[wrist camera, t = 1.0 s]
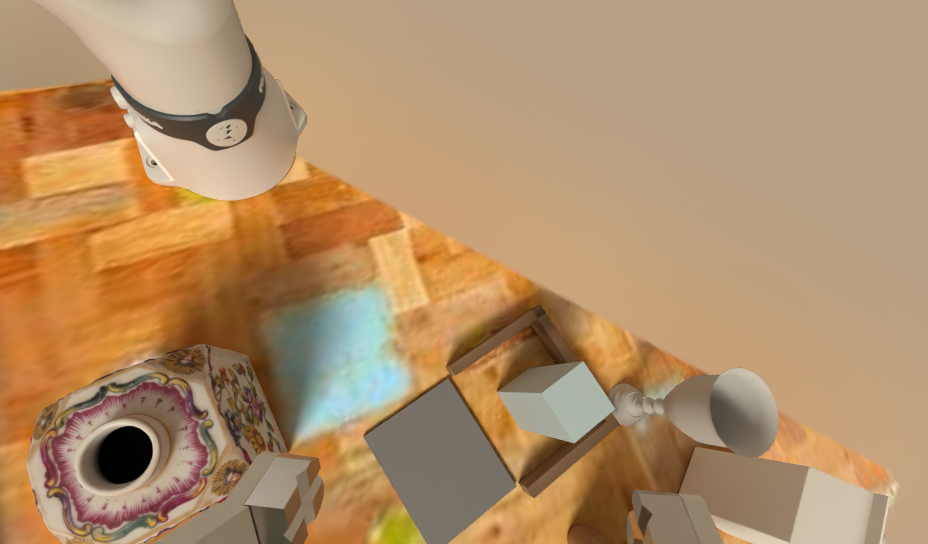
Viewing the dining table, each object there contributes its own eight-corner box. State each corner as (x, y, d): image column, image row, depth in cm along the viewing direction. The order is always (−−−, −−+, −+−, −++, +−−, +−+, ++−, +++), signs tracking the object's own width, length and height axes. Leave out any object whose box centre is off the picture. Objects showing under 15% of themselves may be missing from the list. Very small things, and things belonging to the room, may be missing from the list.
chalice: (650, 437, 53) (783, 460, 36) (600, 433, 52) (713, 455, 35) (648, 376, 55) (773, 371, 38) (600, 371, 54) (706, 363, 37)
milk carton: (674, 501, 52) (836, 560, 34) (694, 445, 54) (855, 474, 36) (722, 531, 52) (908, 607, 34) (740, 475, 54) (922, 518, 37)
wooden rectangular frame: (445, 367, 50) (450, 365, 47) (531, 309, 54) (540, 304, 51) (524, 491, 48) (533, 498, 46) (606, 422, 53) (620, 424, 50)
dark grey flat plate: (363, 436, 46) (363, 436, 46) (447, 378, 50) (448, 378, 49) (433, 553, 45) (433, 555, 45) (514, 485, 48) (516, 486, 48)
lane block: (496, 391, 51) (541, 393, 37) (528, 367, 52) (583, 361, 39) (520, 428, 50) (574, 443, 37) (552, 403, 52) (615, 408, 39)
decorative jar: (250, 352, 46) (182, 331, 29) (293, 454, 45) (247, 494, 28) (127, 406, 43) (-31, 418, 26) (169, 519, 41) (30, 612, 24)
